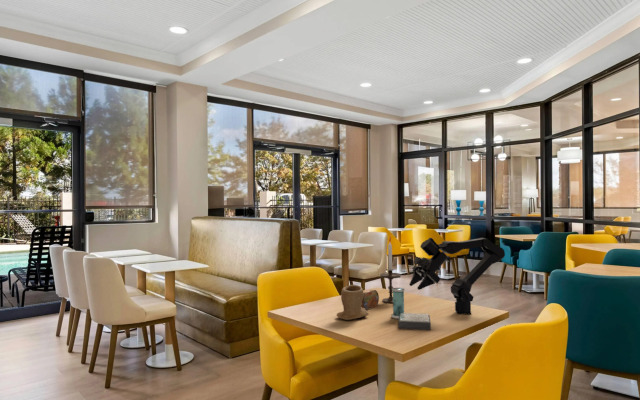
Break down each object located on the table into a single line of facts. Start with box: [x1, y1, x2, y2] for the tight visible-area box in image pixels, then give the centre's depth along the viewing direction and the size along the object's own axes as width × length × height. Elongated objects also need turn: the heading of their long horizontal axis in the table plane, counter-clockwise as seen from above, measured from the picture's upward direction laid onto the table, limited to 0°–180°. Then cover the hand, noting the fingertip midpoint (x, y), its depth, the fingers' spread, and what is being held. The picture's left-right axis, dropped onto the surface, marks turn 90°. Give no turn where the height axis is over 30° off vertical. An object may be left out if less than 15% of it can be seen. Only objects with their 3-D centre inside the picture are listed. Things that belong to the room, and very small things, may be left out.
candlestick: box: [379, 236, 402, 305], centre depth 224 cm, size 11×11×35 cm
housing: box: [390, 287, 405, 320], centre depth 192 cm, size 7×7×13 cm
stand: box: [398, 312, 432, 331], centre depth 179 cm, size 13×13×4 cm
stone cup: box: [336, 284, 369, 321], centre depth 192 cm, size 15×12×15 cm
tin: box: [361, 289, 380, 311], centre depth 211 cm, size 15×3×8 cm, turn 143°
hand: (413, 287), depth 194 cm, fingers open, 9 cm apart
